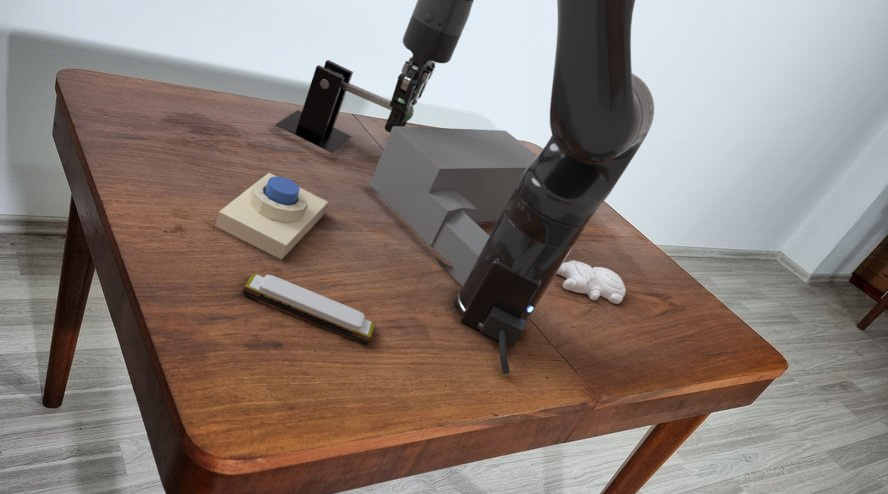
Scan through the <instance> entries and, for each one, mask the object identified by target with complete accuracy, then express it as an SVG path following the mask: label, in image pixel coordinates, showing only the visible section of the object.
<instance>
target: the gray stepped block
mask: <svg viewBox="0 0 888 494" xmlns="http://www.w3.org/2000/svg"><path fill="white" fill-rule="evenodd" d="M537 156H538V155H537V154H536V153H534V152H533V151H532V149H529V148H528V147H527V146H526V145H524V143H522V142H521V141H519V140H518V139H517V138H515V136H514V135H511V134H510V133H509V132H508V131H507V130H501V129H500V130H499V129H477V128H476V129H475V128H474V129H473V128H449V127H448V128H447V127H425V126H423V127H422V126H404V127H401V126H393V127H392V130H391V132H389V135H388V137H387V140H386V142H385V145H384V147H383V150H382V152H381V154H380V157H379V160H378V162H377V164H376V168H375V169H374V172H373V175H372V177H371V180H370V182H369V185H370V186H371V187H372V189H374V191H375V192H377V194H378V195H380V197H382V198H383V199H384V201H385V202H386V203H387V204H388V205H389V206H390V207H391V208H392V209H393V210H394V211H395V212H396V213H397V214H398V215H399V216H400V217H401V218H402V219H403V220H404V221H405V222H406V223H407V224H408V225H409V226H410V227H411V228H412V229H413V230H414V231H415V232H416V233H417V234H418V235H419V236H420V237H421V238H422V239H423V240H424V242H426V243H427V244H428V245H429V246H430V247H433V249H435V250H436V252H437V253H438V254H439V255H440V256H441V257H442V258H443V259H444V260H445V261H446V262H447V263H448V264H447V263H445V262H442V261H441V260H438V259H437V258H436V259H435V260H436V261H437V262H438V263H439V264H440V266H442V267H443V268H444V269H445V270H446V271H447V272H448V273H449V274H450V276H452V278H453V279H454V280H456V281H457V283H458V284H459V285H460V286H462V287H463V285H464V283H465V281H466V280H467V278H468V276H469V274H470V272H471V270H472V268H473V266H474V264H475V262H476V261H477V259H478V257H479V255H480V253H481V251H482V249H483V247H484V246H485V244H486V242H487V240H488V238H489V236H490V234H488V233H487V232H486V231H485V230H484V229H483V228H482V227H480V226H479V224H477V223H483V222H484V223H485V222H494V221H495V222H497V221H498V219H499V218H500V216H501V214H502V212H503V210H504V208H505V207H506V205H507V203H508V201H509V199H510V197H511V195H512V194H513V192H514V190H515V188H516V186H517V184H518V182H519V180H520V178H521V177H522V175H523V173H524V171H525V170H526V168H527V167H528V166H529V165H530V163H531V162H532V161H533V160H534V159H535V158H536V157H537ZM449 264H450V265H449Z"/></svg>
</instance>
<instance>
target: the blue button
mask: <svg viewBox="0 0 888 494" xmlns="http://www.w3.org/2000/svg"><path fill="white" fill-rule="evenodd" d="M275 176H276V177H271V178H270V179H269V180H268V183H267V186H266V189H265V195H266V196H267V197H268V198H269V199H270V200H272V201H274V202H276V203H278V204H283V205H294V204H295V202H296V200H297V197H298V194H299V191H300V189H299V188H300V186H299V185H298V184H297V183H296V182H295V181H293V180H291V179H289V178H287V177H283V176H277V175H275Z"/></svg>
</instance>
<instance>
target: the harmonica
mask: <svg viewBox="0 0 888 494" xmlns="http://www.w3.org/2000/svg"><path fill="white" fill-rule="evenodd" d="M242 294H244V295H245V296H249V297H250V298H253V299H255V300H257V301H258V302H260V303H262V304H264V305H266V306H268V307H271V308H274V309H276V310H278V311H281V312H283V313H286V314H288V315H291V316H293V317H296V318H298V319H300V320H303V321H306V322H308V323H310V324H312V325H315V326H317V327H320V328H323V329H325V330H328V331H329V332H332V333H334V334H337V335H340V336H342V337H344V338H347V339H351V340H352V339H353V340H355V341H358V342H361V343H363V344H366V345H368V344H369V343H370V340H371V338H372V336H373V335H372V334H373V333H374V332H373V331H374V329H375V325H376V323H375V322H373V320H369V319H367V318H365V317H366V314H364V313H363V312H362V311H360V310H357V309H355V308H353V307H351V306H348V305H347V304H343V303H341V302H338V301H336V300H333V299H331V298H328V297H326V296H324V295H321V294H319V293H317V292H313V291H312V290H310V289H306V288H304V287H302V286H299V285H297V284H294V283H292V282H290V281H287V280H285V279H282V278H280V277H278V276H275V275H271V274H265V275H264V276H262V275H260V274H258V273H254V272H253V273H252V274H251V276H250V277H249V278H248V280H247V281H246V284H245V285H244V287H243V290H242Z"/></svg>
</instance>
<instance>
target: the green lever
mask: <svg viewBox="0 0 888 494" xmlns="http://www.w3.org/2000/svg"><path fill="white" fill-rule="evenodd" d="M327 69H328V70H330V71H332V72H334V73H336V74H338V75H340V76H342V77H344V75H343V74H341V73H339V72H336V71H334V70H332V69H330V68H327ZM341 89H343V90H345V91H346V92H347V93H350V94H352V95H355V96H357V97H359V98H362V99H364V100H366V101H368V102H371V103H373V104H375V105H378V106H380V107H382V108H385V109H387V110H389V111H391V110H392V107H390V102H391V99H390V100H389V99H387V98H385V97H383V96H380V95H378V94H376V93H374V92H371V91H369V90H366V89H364V88H362V87H359V86H357V85H355V84H352V83H348V82H345V81H343V84H342V87H341ZM399 102H401V103H403V104H404V103H405V101H404V100H402V99H400V98H399ZM414 112H415V109H414V105H412V104H411V106H410V108H409V112H407V114H406V116H405V119H404V121H403V122H406V121H407V122H408V121H410V120H411V119H412V117H413V116H414Z"/></svg>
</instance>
